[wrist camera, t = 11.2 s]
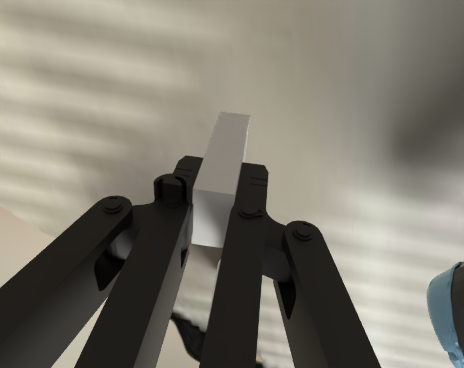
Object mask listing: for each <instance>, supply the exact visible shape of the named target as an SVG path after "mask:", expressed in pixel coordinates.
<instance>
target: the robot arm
mask: <svg viewBox="0 0 464 368" xmlns="http://www.w3.org/2000/svg"><path fill="white" fill-rule="evenodd" d="M249 120H250V115H243V114H235V113H227V112H220V114H219V117H218V120H217V122H216V125H215V128H214V131H213V134H212V136H211V139H210V142H209V145H208V147H207V150H206V153H205V156H204V158H200V157H193V156H185V157H183V158H182V159H181V160H179V161H178V163H177V165H176V168H175V170H174V172H173V174H165V175H162V176H160V177H158V178H156V180H155V181H154V196H155V200H154V202H153V203H150V204H145V205H135V206H132V203H131V202H130V200H129V199H127V198H125V197H122V196H109V197H106V198H103V199H101V200H100V201H98V202H97V203H96V204H95V205H93V206H92V207H91V208H90V209H89V210H88V211H87V212H86V213H84V214H83V215H82V216H81V217H80V218H79V219H78V220H76V221H75V222H74V223H73V224H72V225H71V226H70V227H69V228H67V229H66V230H65V231H64V232H63V233H62V234H61V235H60V236H58V237H57V238H56V239H55V240H54V241H53V242H52V243H51V244H50V245H48V246H47V247H46V248H45V249H44V250H43V251H41V252H40V253H39V254H38V255H37V256H36V257H35V258H34V259H33V260H31V261H30V262H29V263H28V264H27V265H26V266H25V267H23V268H22V269H21V270H20V271H19V272H18V273H17V274H16V275H15V276H13V277H12V278H11V279H10V280H9V281H8V282H6V283H5V284H4V285H3V286H2V287H1V288H0V368H51V367H52V366H53V364H54V363H55V362H56V360H57V359H58V358H59V357H60V356H61V354H62V353H63V352H64V350H65V349H66V348H67V347H68V346H69V344H70V343H71V342H72V341H73V339H74V338H75V337H76V336H77V334H78V333H79V332H80V331H81V329H82V328H83V327H84V326H85V324H86V323H87V322H88V321H89V319H90V318H91V317H92V316H93V314H94V313H95V312H96V311H97V309H98V308H99V307H100V306H101V304H102V303H103V302H104V301H105V300H106V298H107V297H108V298H107V300H106V302H105V305H104V307H103V309H102V311H101V313H100V315H99V317H98V319H97V321H96V323H95V325H94V327H93V330H92V331H91V334H90V336H89V338H88V340H87V342H86V344H85V346H84V348H83V350H82V352H81V355H80V357H79V359H78V361H77V363H76V365H75V367H74V368H155V367H156V364H157V361H158V357H159V354H160V351H161V347H162V344H163V340H164V337H165V333H166V330H167V327H168V323H169V320H170V317H171V313H172V310H173V306H174V303H175V300H176V296H177V293H178V289H179V286H180V283H181V279H182V276H183V272H184V269H185V266H186V262H187V259H188V255H189V243H190V240H191V237H192V244H198V245H205V246H212V247H218V248H223V251H222V256H221V261H220V266H219V271H218V276H217V281H216V286H215V291H214V296H213V301H212V306H211V311H210V316H209V321H208V326H207V331H206V336H205V341H204V345H203V350H202V355H201V360H200V365H199V368H255V365H256V351H257V338H258V324H259V310H260V297H261V283H262V275H265V276H267V277H269V278H271V279H273V283H274V287H275V291H276V295H277V299H278V303H279V307H280V311H281V315H282V319H283V323H284V327H285V331H286V335H287V339H288V343H289V347H290V351H291V355H292V359H293V363H294V367H295V368H381V366H380V364H379V362H378V359H377V357H376V355H375V353H374V350H373V348H372V346H371V344H370V341H369V339H368V337H367V335H366V332H365V330H364V328H363V326H362V323H361V321H360V319H359V317H358V314H357V312H356V310H355V308H354V305H353V303H352V301H351V299H350V296H349V294H348V292H347V290H346V287H345V285H344V283H343V281H342V278H341V276H340V274H339V272H338V269H337V267H336V265H335V263H334V260H333V258H332V256H331V254H330V251H329V249H328V247H327V245H326V242H325V240H324V238H323V236H322V233H321V232H320V230H319V229H318V228H317V227H316V226H314V225H313V224H311V223H308V222H306V221H292V222H290V223H289V224H287V225H286V226H285V225H283V224H280V223H278V222H276V221H274V220H273V219H272V218H270V216H269V215H268V214H267V212H266V199H267V186H268V171H267V169H266V167H265V166H264V165H258V164H251V163H244V162H245V154H246V145H247V137H248V129H249ZM427 306H428V311H429V315H430V319H431V322H432V325H433V327H434V330H435V333H436V335H437V337H438V339H439V341H440V343H441V345H442V347H443V349H444V350H445V351H447V352H448V355H449V358H450V360H451V362H452V363H453V365H454V366H455V367H456V368H464V262H458V263H456V264H455V265H454V266H453V267H452V268H451V269H449V270H447V271H445V272H443V273H442V274H440V275H438V276H436V277H435V278H434V279H432V281H431V282H430V284H429V287H428V290H427Z"/></svg>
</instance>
